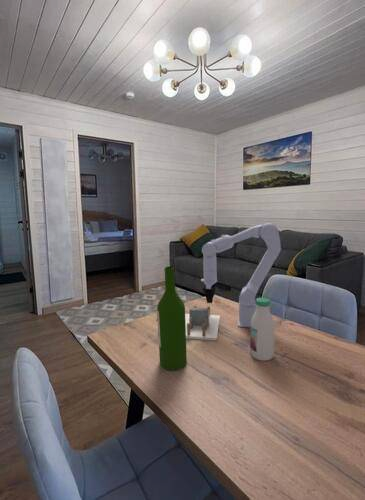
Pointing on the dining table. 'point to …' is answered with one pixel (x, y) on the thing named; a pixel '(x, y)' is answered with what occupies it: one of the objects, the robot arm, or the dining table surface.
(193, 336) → the peg rack
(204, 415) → the dining table surface
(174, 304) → the wine bottle
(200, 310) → the slate grey rectangular block
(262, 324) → the milk bottle
